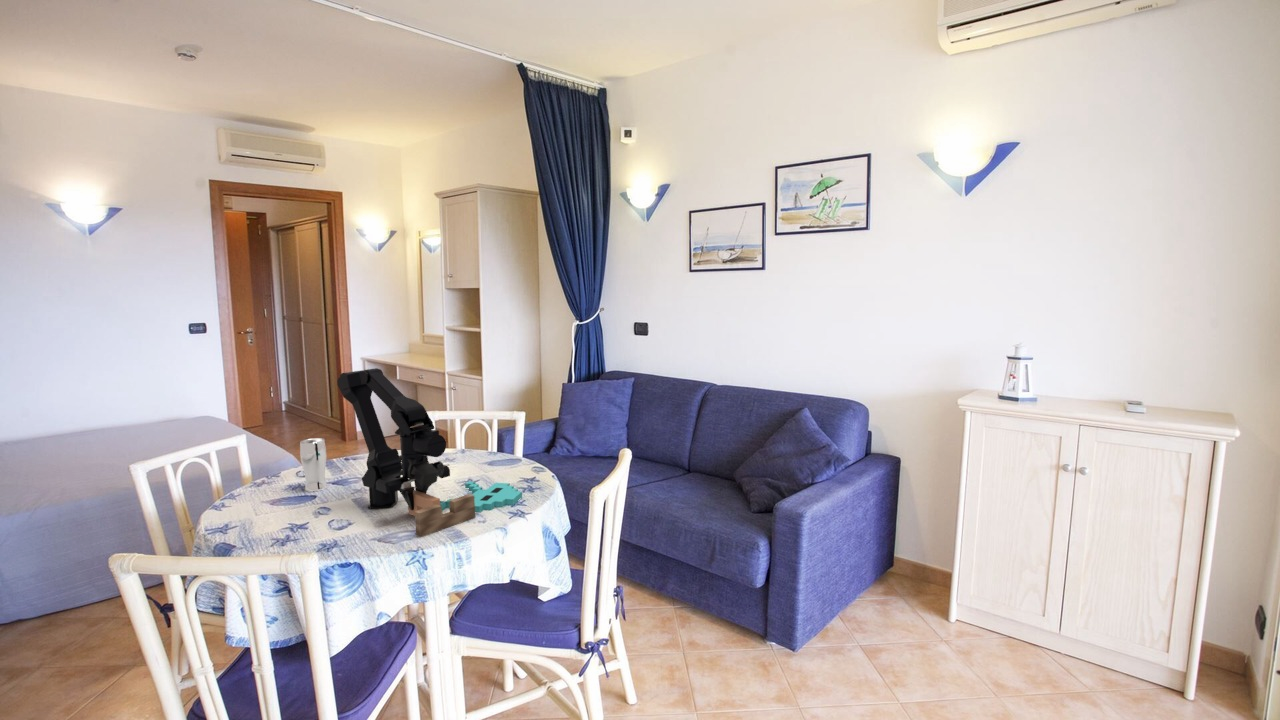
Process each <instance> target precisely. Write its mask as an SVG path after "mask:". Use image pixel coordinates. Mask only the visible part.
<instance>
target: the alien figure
mask: <svg viewBox="0 0 1280 720" xmlns="http://www.w3.org/2000/svg"><path fill="white" fill-rule="evenodd" d="M465 488H469V489H468V492H469V491H472V492H471V495H474V500H475V512H480V513H482V512H481V511H492V510H493V509H495V508H494V507H503V506H504V507H505V506H515V504H517V503H518V502H519V501H520V500H521V499H522V498H523V491H521V490H520V491H519V488H515V487H514V485H511V484H510V483H509V482H495V483H493V484H492V485H490V486H489V487H488V488H486V489H483V486H480V484H478V483H476V481H473V480H471V481H470V480H469V481H467V482H465V483H464V489H465ZM520 498H521V499H520ZM452 499H453V498H449V499H447V500H446V501H442V500H440V506H442V511H444V510H445V509H446V508H447V509H450V504H449V500H452ZM519 499H520V500H519ZM518 500H519V501H518ZM517 501H518V502H517ZM516 502H517V503H516ZM504 507H503V508H504Z"/></svg>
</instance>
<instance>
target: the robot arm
mask: <svg viewBox="0 0 1280 720" xmlns="http://www.w3.org/2000/svg"><path fill="white" fill-rule="evenodd" d="M336 382H337V387H338V389H339V391H340V393H341V395H342V397H343V398H344V399H345V400H346V401H348V402H349V403H350V404H351V405H352V407H353V410H354V412H355V416H356V418H357V421H358V424H359V427H360V430H361V432H362V437H363V438H364V442H365V444H366V448H367V450H368V456H367V459H366V468H367V470H366V471H365V473H364V474H363V476H362V478H361V481H362V484H363V485H362V486H364V487H366V488H368V494H369V495H368V496H369V505H368V506H367V509H369V510H371V509H384V508H386V509H387V508H388V509H389V508H393V507H394V506H395V505H396V503H397V502H398V501H399V493H400V494H401V496H402V497H403V499H404V501H405V503H406V504H407V505H408V506H409V508H410V510H414V500H413V491H414V490H416V491H419V492H422V493H425V494H427V491H428V490H429V488H430V487H431V486H432V485H433V484H435V483H436V482H438V478H439V479H444V478H447V477H451V469H450V467H449V466H448V465H446V464H444V463H443V462H442V461H440V460H438V461H435V462H431V463H430V462H429V458H428V457H433V458H439V457H441V456H443V454H444V453H445V451H446V448H447V441H446V439H445V438H444V436H442V435H441V434H440V431H439V429H435V426H434V424H433V423H434V422H433V421H432V419H431V418H430V416H429V414H428V412H427V410H426V408H425V407H424V405H422V404H421V403H420V402H419V401H417V400H416V399H413V398H409V397H407V396H406V395H404V394H403V393H402V392H401V391H400V389H398V388H397V387H396V385H394V384H393V383H392V382H391V381H390V379H388V378H387V376H385V375H384V372H383V371H382V369H381V368H370V369H369V368H368V369H363V370H355V371H346V372H342V373H340V375H339V377H338V378H337V381H336ZM373 393H374V394H375V395H376V397H378V398H379V400H381V401H382V402H383V403H384V405H385V406H387V408H388V409H389V410H390V417H391V420H392V421H393V422H394V423H395V425H396V426H397V427H398V429H396V431H395V432H394V434H395V435H399V440H400V443H399V444H400V454H399V450H398V449H397V448H391V447H390V446H388V443H387V441H386V438H385V435H384V432H383V429H382V427H381V423H380V422H379V418H378V415H377V412H376V410H375V407H374V404H373V400H372V398H371V397H372V394H373ZM412 482H414V486H412Z"/></svg>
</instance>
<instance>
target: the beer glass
mask: <svg viewBox="0 0 1280 720" xmlns="http://www.w3.org/2000/svg"><path fill="white" fill-rule="evenodd" d="M325 442H326V441H325V438H324V437H323V438H322V437H315V438H307V439H302V440H301V441H299V443H300V444H299V456H300V461H301V466H302V470H303V475H304V479H305V484H304V491H305V492H307V491H308V493H314V492H313V491H316V492H320V491H323V490H326V489H327V488H328V484H327V481H326V468H327V467H326V466H327V465H326V464H327V448H326V443H325Z"/></svg>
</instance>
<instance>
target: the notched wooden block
mask: <svg viewBox="0 0 1280 720" xmlns="http://www.w3.org/2000/svg"><path fill="white" fill-rule="evenodd" d="M451 499H452V500H449V499H448V500H449V504H450V508H449V512H445V513H443V510H442V506H440V505H433V506H430V507H427V508H424V509H421V510H418V511H415V516H414V520H415V521H414V524H415V535H416V536H417V537H420V538H422V537H424V536H427V535H430V534H433V533H436V532H438V531H441V530H444V529H447V528H450V527H453V526H456V525H459V524H461V523H465V522H467V521H470V520H473V519H475V518H476V513H475V500H474V495H472V493H468V494H466V495H465V494H464V495H461V496H458V497H457V498H456V497H455V498H451Z"/></svg>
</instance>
